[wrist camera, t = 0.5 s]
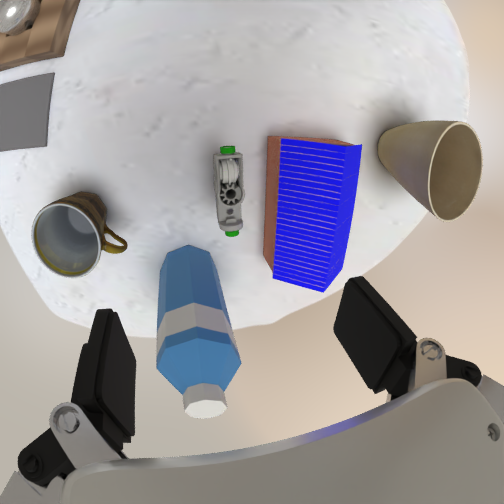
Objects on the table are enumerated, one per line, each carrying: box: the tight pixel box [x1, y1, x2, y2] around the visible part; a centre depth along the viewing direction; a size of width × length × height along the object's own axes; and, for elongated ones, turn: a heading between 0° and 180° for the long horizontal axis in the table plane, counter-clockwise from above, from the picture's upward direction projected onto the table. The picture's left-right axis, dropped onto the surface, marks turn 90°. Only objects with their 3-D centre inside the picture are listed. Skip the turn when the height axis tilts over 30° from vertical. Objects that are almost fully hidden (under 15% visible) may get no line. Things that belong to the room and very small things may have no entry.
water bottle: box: [157, 245, 241, 419], centre depth 33 cm, size 9×9×25 cm
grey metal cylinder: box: [0, 0, 40, 36], centre depth 13 cm, size 6×6×10 cm
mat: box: [0, 73, 55, 152], centre depth 23 cm, size 11×12×1 cm
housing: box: [0, 0, 80, 71], centre depth 15 cm, size 14×14×5 cm
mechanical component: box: [213, 146, 245, 237], centre depth 33 cm, size 3×10×10 cm, turn 1°
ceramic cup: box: [31, 192, 127, 278], centre depth 31 cm, size 13×10×10 cm
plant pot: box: [378, 121, 483, 222], centre depth 35 cm, size 15×15×16 cm
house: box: [263, 136, 362, 293], centre depth 37 cm, size 12×20×12 cm, turn 179°
